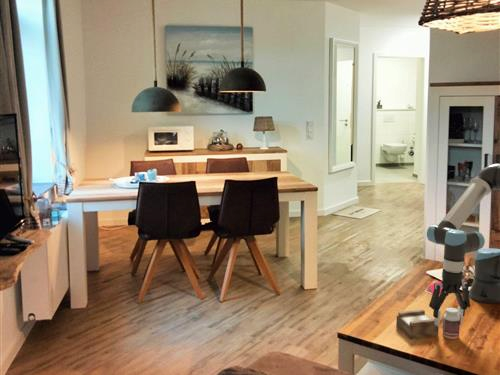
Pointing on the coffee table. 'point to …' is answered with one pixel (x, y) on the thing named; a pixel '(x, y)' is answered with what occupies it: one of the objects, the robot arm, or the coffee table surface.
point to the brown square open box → (416, 324)
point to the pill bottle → (451, 323)
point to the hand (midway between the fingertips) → (448, 324)
